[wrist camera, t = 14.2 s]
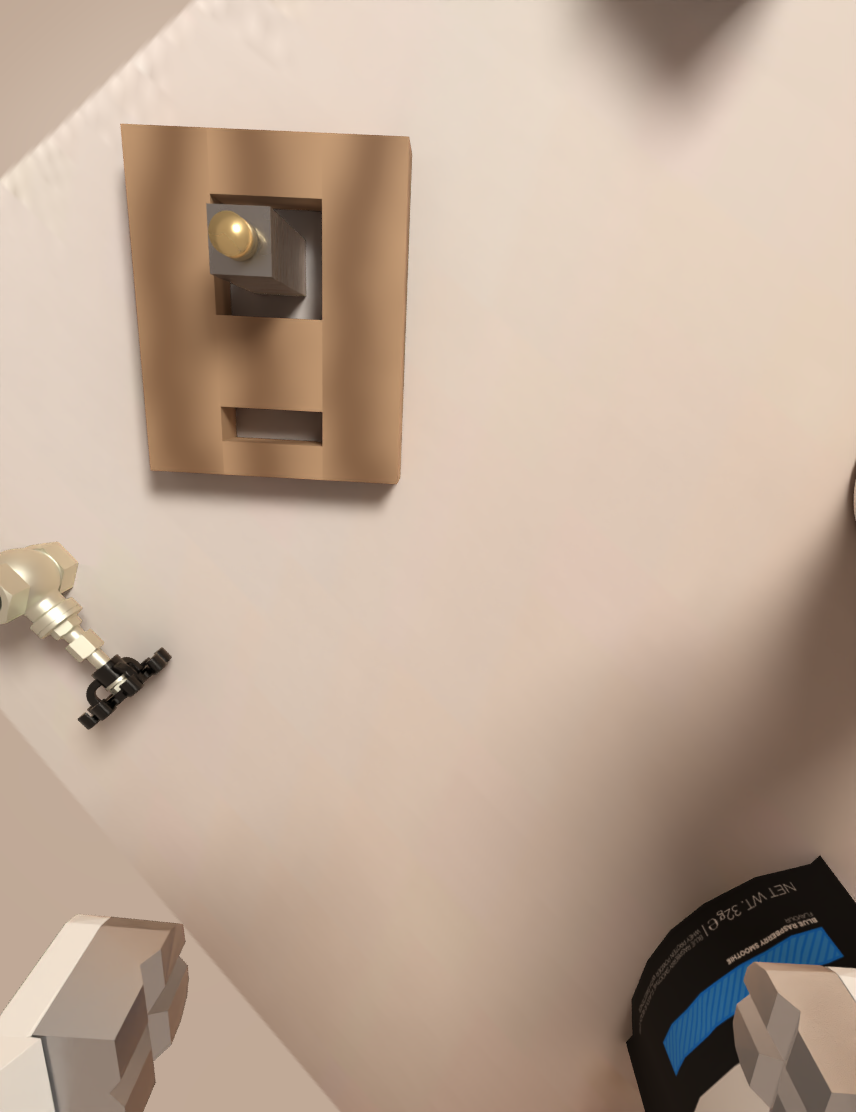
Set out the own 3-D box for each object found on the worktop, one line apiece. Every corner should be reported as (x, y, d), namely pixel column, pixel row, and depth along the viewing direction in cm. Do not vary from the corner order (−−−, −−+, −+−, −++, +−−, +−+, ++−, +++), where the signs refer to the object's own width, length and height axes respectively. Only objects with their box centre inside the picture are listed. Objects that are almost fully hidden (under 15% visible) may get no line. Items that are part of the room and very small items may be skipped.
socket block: (411, 154, 33) (409, 136, 30) (400, 477, 38) (396, 484, 35) (144, 142, 33) (120, 123, 30) (169, 464, 38) (150, 470, 36)
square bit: (305, 240, 34) (260, 196, 26) (306, 296, 35) (262, 271, 27) (254, 237, 34) (192, 193, 26) (255, 294, 35) (197, 268, 27)
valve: (-1, 570, 41) (124, 693, 43) (-83, 605, 34) (69, 747, 37) (62, 513, 39) (187, 643, 42) (-12, 539, 33) (141, 690, 36)
